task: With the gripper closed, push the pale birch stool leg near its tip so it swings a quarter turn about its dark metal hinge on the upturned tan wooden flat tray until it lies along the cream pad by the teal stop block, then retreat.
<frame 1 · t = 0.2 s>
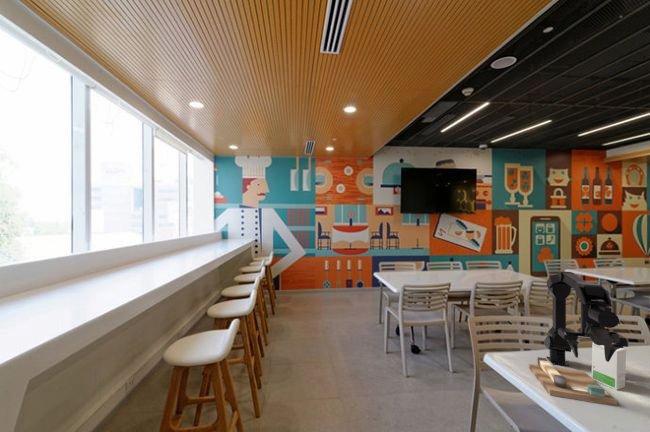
hand: (591, 359, 103), 14 cm above the table, fingers open, 9 cm apart
skincare box: (608, 383, 112), on the table
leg: (551, 371, 114), point 4 cm above the table, hinge at 0.0°
tan wooden flat tray: (567, 384, 111), on the table
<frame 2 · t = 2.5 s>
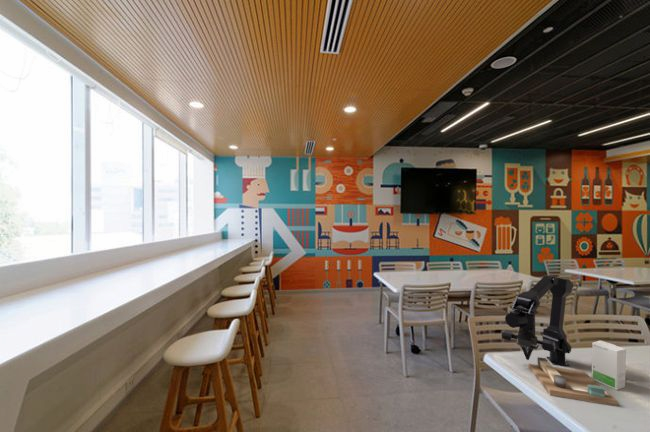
hand: (527, 359, 121), 5 cm above the table, fingers closed
nothing on the table moved.
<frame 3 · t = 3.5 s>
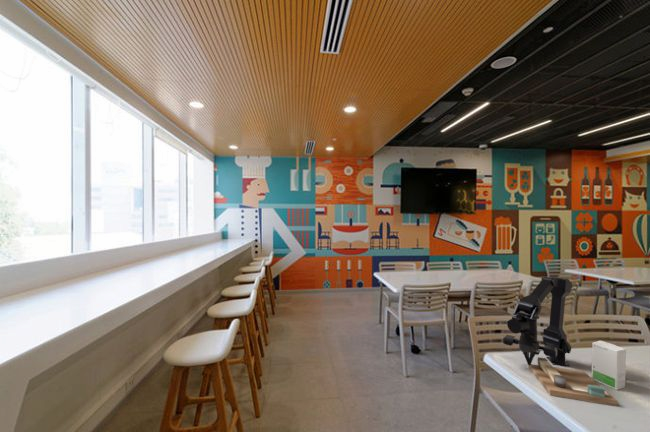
hand: (529, 364, 121), 3 cm above the table, fingers closed
nothing on the table moved.
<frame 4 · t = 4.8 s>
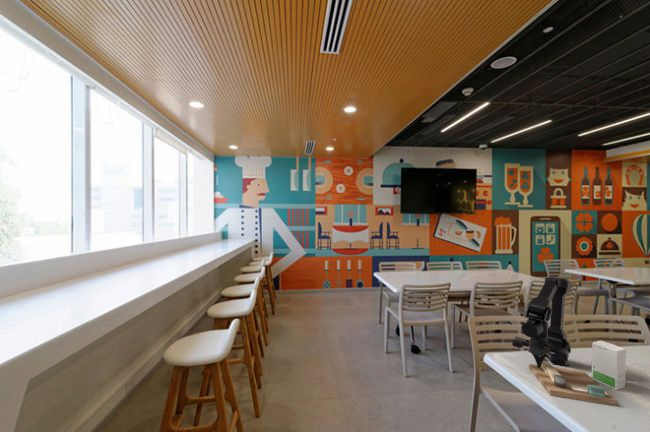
hand: (539, 367, 118), 3 cm above the table, fingers closed
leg: (551, 371, 114), point 4 cm above the table, hinge at 0.6°, touching gripper
everything else where it was.
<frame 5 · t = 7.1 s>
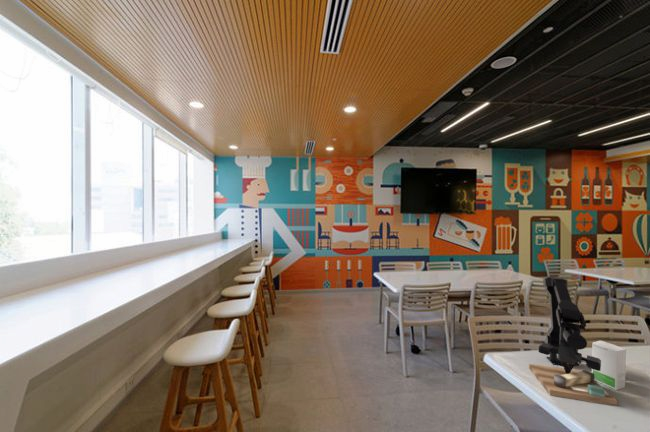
hand: (567, 376, 112), 3 cm above the table, fingers closed
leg: (573, 378, 109), point 4 cm above the table, hinge at 58.6°, touching gripper
everything else where it was.
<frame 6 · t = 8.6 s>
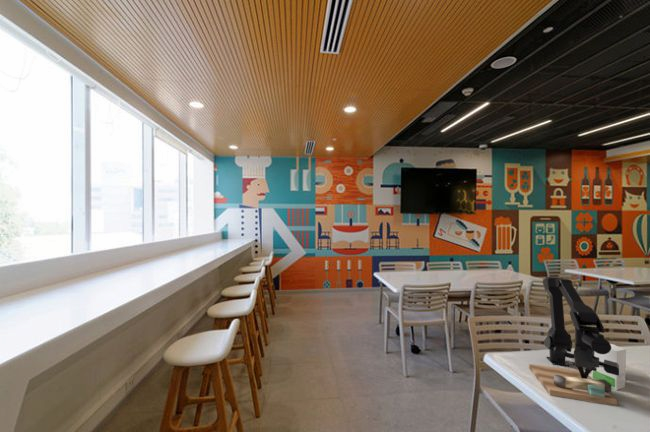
hand: (584, 381, 108), 3 cm above the table, fingers closed
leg: (580, 383, 106), point 4 cm above the table, hinge at 83.7°, touching gripper
everything else where it was.
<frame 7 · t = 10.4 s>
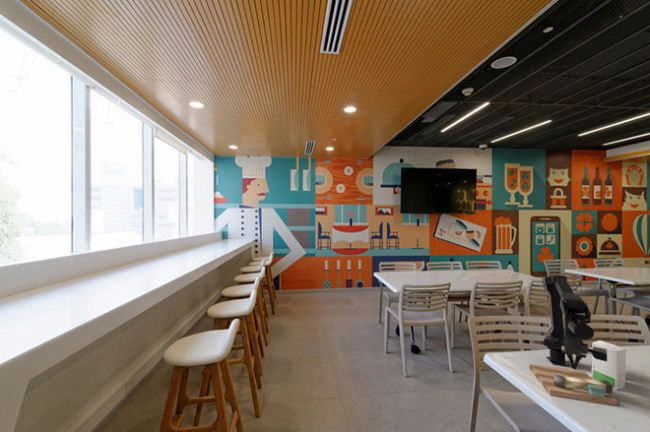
hand: (574, 368, 110), 7 cm above the table, fingers closed
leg: (581, 383, 106), point 4 cm above the table, hinge at 86.3°
everything else where it was.
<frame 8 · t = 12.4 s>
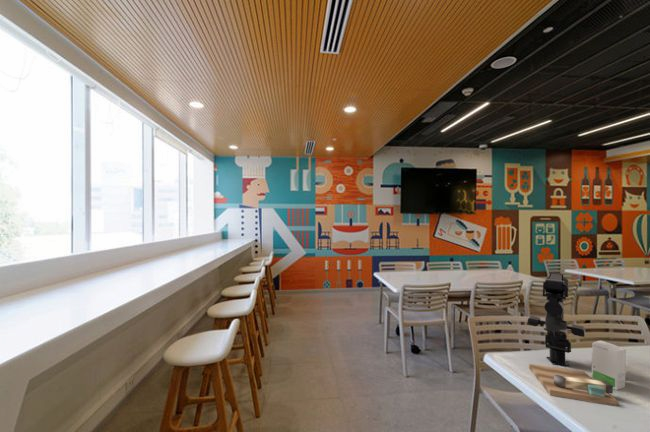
hand: (555, 345, 119), 13 cm above the table, fingers closed
nothing on the table moved.
at the end: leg at +86° (first picture: +0°) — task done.
